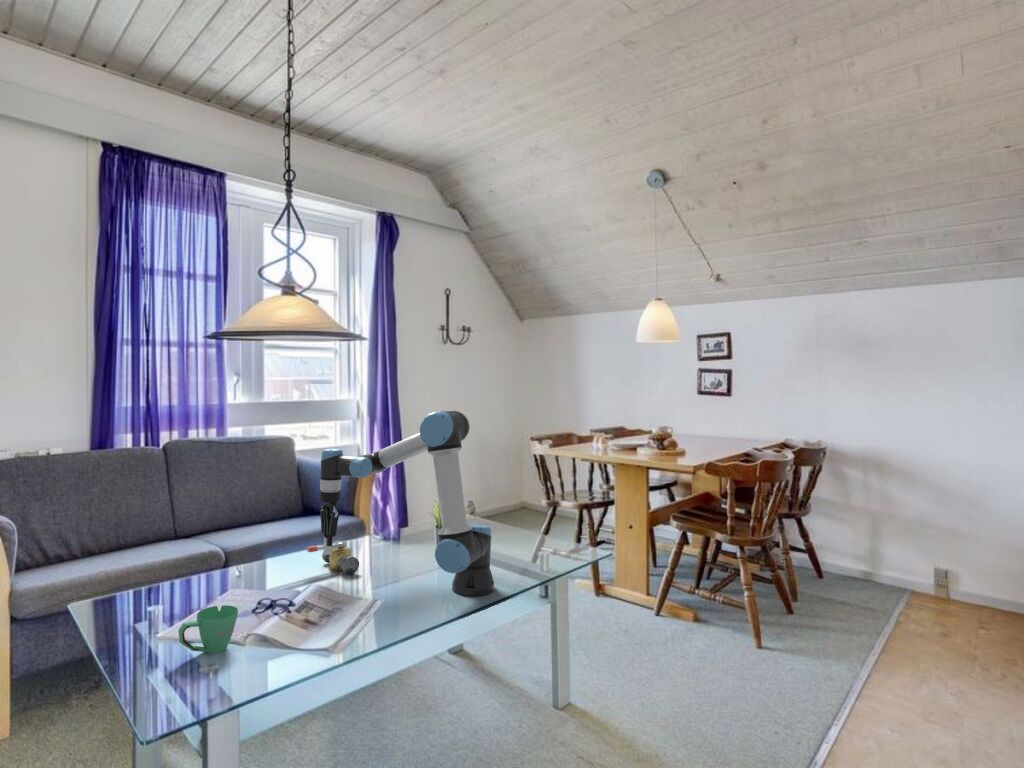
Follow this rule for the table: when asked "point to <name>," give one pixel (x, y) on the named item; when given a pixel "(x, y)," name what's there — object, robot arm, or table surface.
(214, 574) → the table surface
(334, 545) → the lever
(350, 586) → the table surface
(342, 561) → the valve body
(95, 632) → the table surface
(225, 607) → the mug
